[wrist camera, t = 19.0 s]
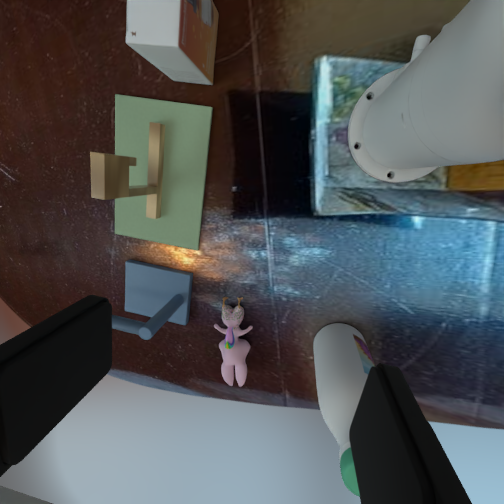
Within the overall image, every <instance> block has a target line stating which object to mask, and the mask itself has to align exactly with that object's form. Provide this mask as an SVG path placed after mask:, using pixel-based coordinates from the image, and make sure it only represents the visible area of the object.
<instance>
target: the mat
mask: <svg viewBox="0 0 504 504" xmlns="http://www.w3.org/2000/svg"><path fill="white" fill-rule="evenodd" d="M212 109H213V108H212V107H207V106H199V105H192V104H184V103H177V102H170V101H162V100H155V99H148V98H140V97H133V96H125V95H118V94H115V155H123V156H129V157H135V158H137V162H136V166H129V186H138V185H147V178H148V151H149V124H150V122H154V123H160V124H163V125H165V142H164V160H163V179H162V198H161V217H160V218H158V219H153V218H148V217H146V205H147V195H142V196H133V197H124V198H116V199H115V234H120V235H125V236H130V237H134V238H139V239H144V240H149V241H154V242H159V243H164V244H169V245H174V246H178V247H183V248H188V249H193V250H199V240H200V230H201V220H202V210H203V200H204V190H205V180H206V170H207V160H208V150H209V140H210V130H211V120H212Z"/></svg>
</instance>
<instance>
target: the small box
mask: <svg viewBox="0 0 504 504" xmlns="http://www.w3.org/2000/svg"><path fill="white" fill-rule="evenodd" d="M218 19H219V13H218V11H217V9H216V7H215V5H214V3H213V1H212V0H127V29H126V44H128V45H129V46H130V47H131V48H133V49H134V50H135V51H136V52H138V53H139V54H140V55H141V56H143V57H144V58H145V59H147V60H148V61H149V62H151V63H152V64H153V65H154V66H156V67H157V68H158V69H159V70H161V71H162V72H163V73H165V74H166V75H167V76H168V77H170V78H171V79H172V80H173V81H181V82H189V83H198V84H207V85H213V76H214V62H215V51H216V40H217V30H218Z"/></svg>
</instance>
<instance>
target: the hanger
mask: <svg viewBox="0 0 504 504" xmlns="http://www.w3.org/2000/svg"><path fill="white" fill-rule="evenodd" d="M164 142H165V125H163V124H160V123H154V122H150V124H149V151H148V178H147V185H138V186H129V166H136V162H137V158H135V157H129V156H123V155H115V154H106V153H98V152H90V156H91V197H93V198H98V199H103V200H107V199H116V198H124V197H133V196H142V195H147V205H146V217H148V218H153V219H158V218H160V217H161V198H162V179H163V160H164Z"/></svg>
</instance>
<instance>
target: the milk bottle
mask: <svg viewBox="0 0 504 504" xmlns="http://www.w3.org/2000/svg"><path fill="white" fill-rule="evenodd" d="M314 360H315V373H316V384H317V393H318V401H319V406H320V410H321V413H322V416H323V418H324V420H325V422H326V424H327V426H328V427H329V429H330V430H331V432H332V434H333V435H334V436H335V438H336V440H337V442H338V444H339V446H340V451H339V460H340V468H341V474H342V479H343V481H344V484H345V486H346V487H347V488H348V489H349V490H350V491H351V492H352V493H354V494H355V495H357V496H359V497H360V494H359V489H358V483H357V478H356V473H355V467H354V462H353V457H352V451H351V446H350V440H349V431H350V426H351V423H352V420H353V417H354V414H355V412H356V409H357V406H358V403H359V400H360V397H361V394H362V391H363V388H364V385H365V383H366V380H367V377H368V374H369V371H370V369H371V367H372V366H374V367H375V365H374V362H373V360H372V357H371V355H370V352H369V350H368V347H367V345H366V342H365V340H364V338H363V336H362V334H361V333H360V332H359V331H358V330H357V329H355V328H354V327H352V326H350V325H347V324H343V323H334V324H330V325H327V326H325V327H323V328H322V329H321V330H320V331H319V332H318V333H317V335H316V336H315V339H314Z"/></svg>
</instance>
